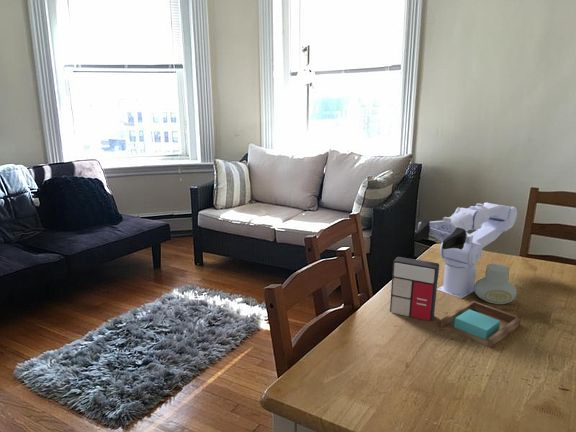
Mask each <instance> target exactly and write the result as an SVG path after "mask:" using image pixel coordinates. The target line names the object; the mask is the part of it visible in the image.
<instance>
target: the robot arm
mask: <svg viewBox="0 0 576 432" xmlns="http://www.w3.org/2000/svg"><path fill="white" fill-rule="evenodd" d="M517 216H518V210H517V208H516V207H515V206H508V205H502V204H496V203H490V202H488V201H486V202H484V203H476V204H475V205H474V206H473V205H471V206H469V207H468V208H466V207H459V206H458V207H457V208H456V209H455V212H453V213H452V214H451V216H448V217H447V216H444V217H442V220H435V221H433V220H432V221H430V219H427V218H422V219H421V220H420V222H418V223H417V230H416V232H414V241H417V242H418V241H422V240H429V237H430V235H431V236H432V237H434V238H435V239H437V240H438V241H439V242H441V244H440V247H439V254H440V257H441V258H442V259H443V260H442V261H443V263H444V264H445V265H444V273H443V281H442V282H443V283H442V285H441V286H440V287H438V288H437V291H439V292H443V293H445V294H448V295H451V296H454V297H456V298H459V299H463V298H465V297H467V296H468V295H470V294H472V293H475V291H474V285H475V283H476V276H477V267H476V264H477V263H478V262H479V260H480V259H481V257H482V253H483V248H485V247H487V246H488V245H490V244H491V243H492V242H494V241H496V240H497V239H498V238H499V237H500V235H501V234H503V232H507V231H508V230H510V229H512V228H513V227H514V225H515V222H516V221H517ZM470 230H471V231H473V232H471V233H468V231H470Z"/></svg>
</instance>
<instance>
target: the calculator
mask: <svg viewBox="0 0 576 432" xmlns="http://www.w3.org/2000/svg"><path fill="white" fill-rule="evenodd" d="M439 270H440V264H439V263H436V262H432V261H426V260H420V259H414V258H407V257H402V256H397V257H396V258H395V259H394V260H393V262H392V273H391V276H392V277H391V288H390V289H391V290H390V304H389V306H390V307H389V311H390V313H392V314H396V315H401V316H405V317H411V318H413V319H419V320H422V321H427V322H429V321H433V319H434V317H435V310H436V309H435V308H436V302H437V301H436V298H437V291H438V290H437V287H438V280H439V273H440V271H439Z"/></svg>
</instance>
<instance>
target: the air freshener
mask: <svg viewBox="0 0 576 432" xmlns="http://www.w3.org/2000/svg"><path fill="white" fill-rule="evenodd" d="M485 267H486V268H485V275H484V277H482V278H480V279H478V280H477V281H475V285H474V291H475V292H474V293H475V294H476V296H477V297H478V298H479V299H481V300H482V301H484V302H487V303H488V304H489V303H490V304H492V305H505V304H509V303H511V302H512V301H513V300H515V299H516V298H517V294H518V293H517V288H516V287H515V286H514V285H513V283H512V282H510V281H509V278H510V277H509V276H510V268H509V267H508V266H506V265H503V264H501V263H490V264H487V265H486V266H485Z"/></svg>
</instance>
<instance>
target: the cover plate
mask: <svg viewBox="0 0 576 432" xmlns="http://www.w3.org/2000/svg"><path fill="white" fill-rule="evenodd" d="M454 327H455V328H458V329H460V330H463V331H465V332H467V333H470V334H472V335H475V336H477V337H480V338H482V339H484V340H486V339H488V338H489V337H490V336H492V335H493V334H494V333H496V332H497V331H498V330H499V327H500V321H499V320H497V319H494V318H491V317H489V316H486V315H483V314H481V313H478V312H475V311H473V310H470V309H469V310H467V311H466V312H464V313H462V314H461V315H459V316H458V317H456V318H455V324H454Z"/></svg>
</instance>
